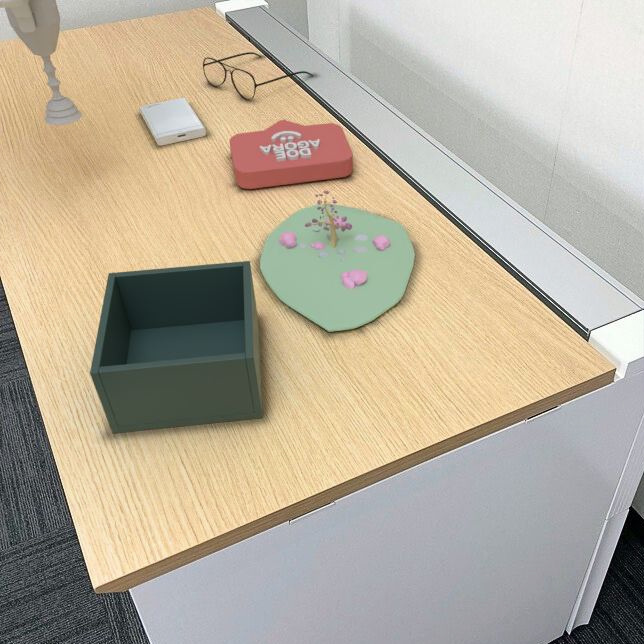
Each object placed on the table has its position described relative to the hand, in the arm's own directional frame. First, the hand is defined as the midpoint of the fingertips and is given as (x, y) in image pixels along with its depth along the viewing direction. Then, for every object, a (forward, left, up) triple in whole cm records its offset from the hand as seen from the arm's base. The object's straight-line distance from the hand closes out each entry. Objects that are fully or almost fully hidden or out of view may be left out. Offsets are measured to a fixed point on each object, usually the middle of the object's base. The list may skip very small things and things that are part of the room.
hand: (35, 19), depth 94 cm
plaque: (+31, +3, -25) cm, 40 cm away
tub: (+17, -42, -25) cm, 52 cm away
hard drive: (+12, +18, -25) cm, 33 cm away
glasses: (+27, +34, -25) cm, 50 cm away
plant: (+36, -25, -25) cm, 50 cm away
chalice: (0, 0, -13) cm, 13 cm away
